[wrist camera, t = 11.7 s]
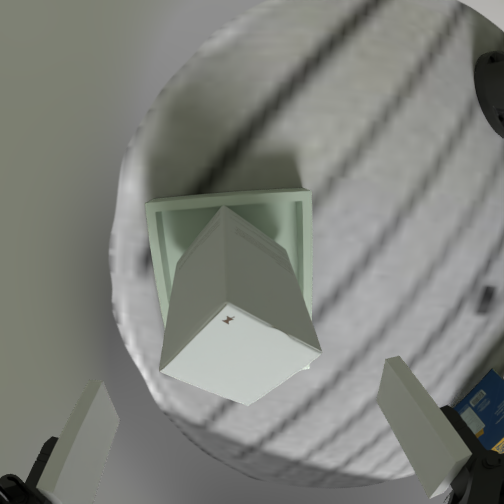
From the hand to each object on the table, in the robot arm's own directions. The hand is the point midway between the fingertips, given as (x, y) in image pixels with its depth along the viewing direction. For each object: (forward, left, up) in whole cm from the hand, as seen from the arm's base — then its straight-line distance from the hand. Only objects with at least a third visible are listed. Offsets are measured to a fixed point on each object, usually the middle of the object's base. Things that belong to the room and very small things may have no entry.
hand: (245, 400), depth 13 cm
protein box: (-50, +39, -25) cm, 68 cm away
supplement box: (+1, 0, -22) cm, 22 cm away
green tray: (0, +4, -25) cm, 25 cm away
